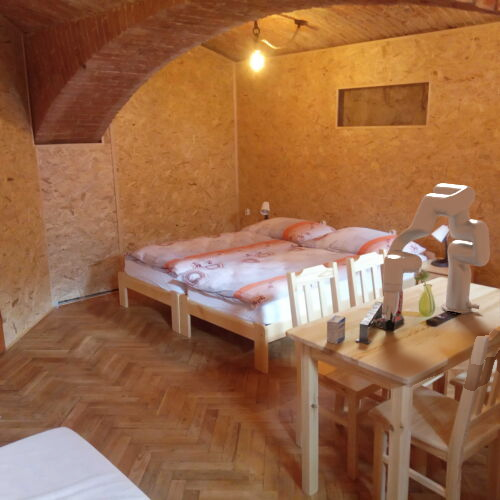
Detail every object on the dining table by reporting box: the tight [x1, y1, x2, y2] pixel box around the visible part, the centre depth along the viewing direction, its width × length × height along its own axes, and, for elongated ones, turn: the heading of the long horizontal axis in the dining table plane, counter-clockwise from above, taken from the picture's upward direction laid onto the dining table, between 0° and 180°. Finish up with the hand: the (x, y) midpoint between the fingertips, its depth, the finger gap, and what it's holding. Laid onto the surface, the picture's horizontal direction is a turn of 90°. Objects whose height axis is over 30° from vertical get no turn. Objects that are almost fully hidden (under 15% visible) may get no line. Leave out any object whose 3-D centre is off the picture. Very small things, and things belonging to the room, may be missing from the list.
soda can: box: [395, 289, 404, 315], centre depth 228 cm, size 7×7×12 cm
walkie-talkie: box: [368, 314, 405, 330], centre depth 213 cm, size 9×4×20 cm
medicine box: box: [326, 314, 346, 345], centre depth 199 cm, size 8×4×9 cm, turn 148°
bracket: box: [355, 301, 386, 345], centre depth 210 cm, size 5×32×7 cm, turn 155°
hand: (389, 330), depth 208 cm, fingers closed
